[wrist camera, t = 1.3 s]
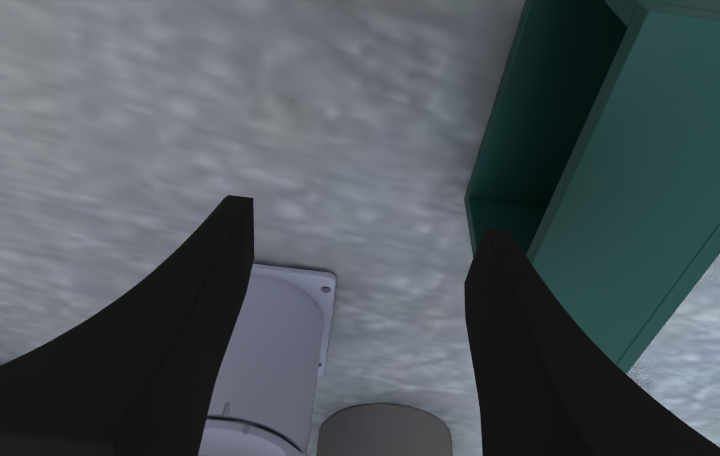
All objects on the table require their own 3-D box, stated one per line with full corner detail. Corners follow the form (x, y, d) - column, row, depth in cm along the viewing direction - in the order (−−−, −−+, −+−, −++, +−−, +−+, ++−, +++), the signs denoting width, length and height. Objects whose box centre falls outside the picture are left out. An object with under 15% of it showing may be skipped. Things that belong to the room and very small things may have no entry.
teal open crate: (563, 219, 26) (621, 382, 19) (461, 207, 26) (483, 366, 19) (708, -82, 18) (902, 19, 11) (557, -104, 17) (660, -15, 11)
